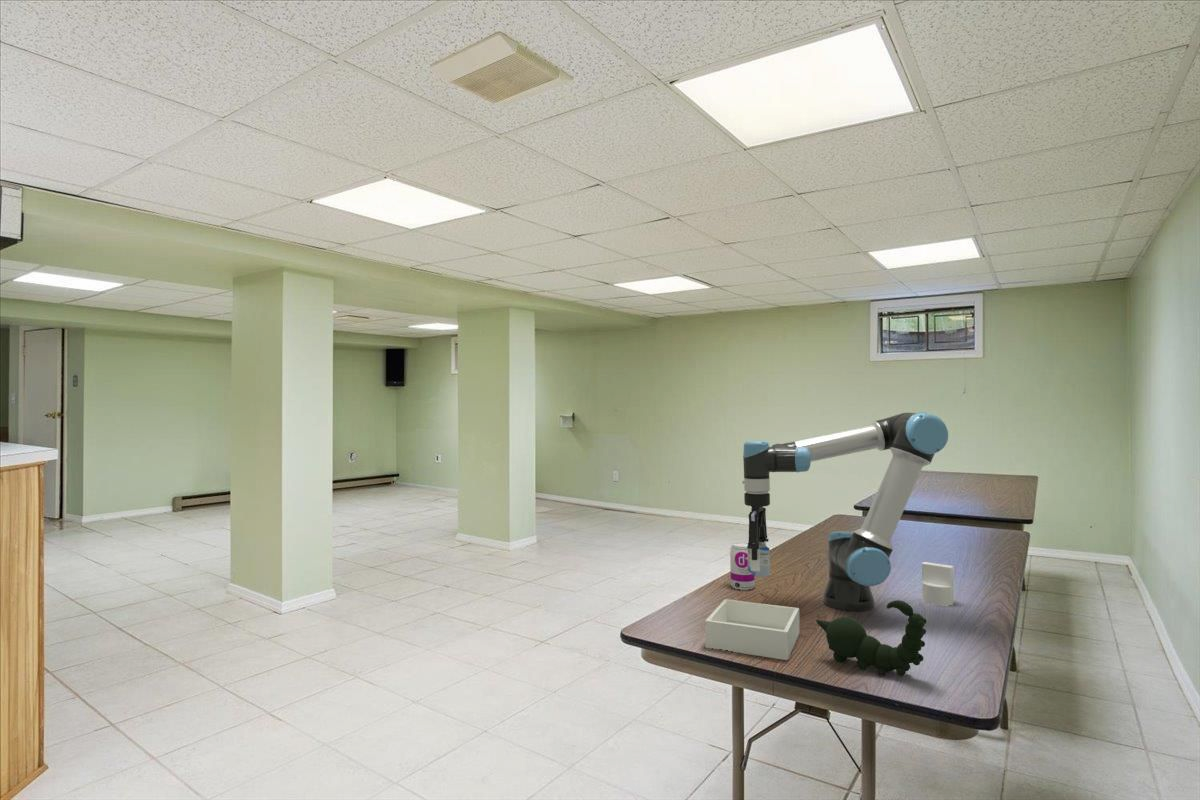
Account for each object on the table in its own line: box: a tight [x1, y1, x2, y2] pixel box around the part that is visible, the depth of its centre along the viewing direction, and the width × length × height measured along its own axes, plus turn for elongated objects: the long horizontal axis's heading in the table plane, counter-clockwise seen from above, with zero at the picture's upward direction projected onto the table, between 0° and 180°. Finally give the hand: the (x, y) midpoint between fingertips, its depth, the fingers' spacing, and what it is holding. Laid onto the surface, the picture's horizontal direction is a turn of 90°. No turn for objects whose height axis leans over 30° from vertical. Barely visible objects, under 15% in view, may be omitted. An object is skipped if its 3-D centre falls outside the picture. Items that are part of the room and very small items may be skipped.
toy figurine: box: [815, 599, 928, 677], centre depth 156 cm, size 9×19×25 cm
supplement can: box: [729, 542, 756, 591], centre depth 226 cm, size 8×8×15 cm
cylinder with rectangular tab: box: [921, 561, 955, 607], centre depth 208 cm, size 9×9×12 cm
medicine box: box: [748, 542, 771, 578], centre depth 195 cm, size 8×4×9 cm, turn 5°
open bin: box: [704, 598, 800, 661], centre depth 175 cm, size 21×21×7 cm
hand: (758, 566), depth 195 cm, fingers closed on medicine box, 9 cm apart
